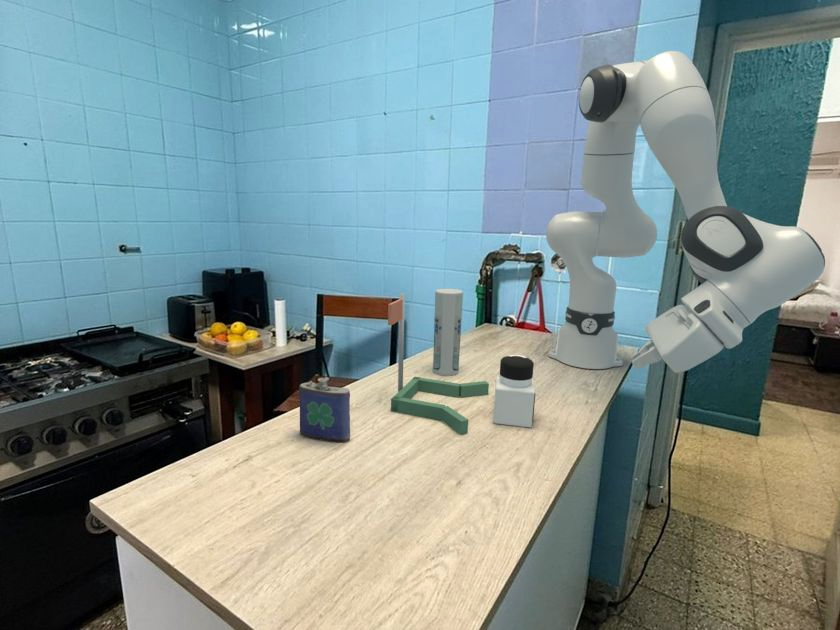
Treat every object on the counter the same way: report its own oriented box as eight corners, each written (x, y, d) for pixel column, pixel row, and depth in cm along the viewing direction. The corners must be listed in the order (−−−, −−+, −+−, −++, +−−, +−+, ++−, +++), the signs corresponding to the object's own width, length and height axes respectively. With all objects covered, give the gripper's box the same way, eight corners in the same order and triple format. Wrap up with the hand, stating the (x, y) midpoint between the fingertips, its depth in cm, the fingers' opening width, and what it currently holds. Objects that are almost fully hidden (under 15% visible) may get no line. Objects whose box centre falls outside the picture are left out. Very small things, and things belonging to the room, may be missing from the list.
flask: (352, 436, 76) (352, 378, 73) (345, 445, 73) (344, 384, 71) (304, 428, 78) (302, 371, 76) (295, 436, 76) (293, 377, 73)
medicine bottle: (532, 428, 81) (538, 366, 78) (492, 423, 82) (497, 362, 79) (530, 411, 87) (536, 353, 85) (494, 407, 89) (498, 350, 86)
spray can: (432, 366, 112) (435, 288, 107) (458, 367, 111) (462, 288, 107) (432, 375, 105) (435, 292, 101) (459, 376, 105) (463, 293, 100)
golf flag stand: (415, 380, 102) (417, 286, 97) (489, 392, 96) (495, 292, 91) (376, 418, 83) (377, 303, 78) (466, 435, 77) (472, 312, 72)
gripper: (682, 288, 80) (616, 335, 85) (713, 311, 61) (626, 368, 66) (706, 315, 79) (639, 360, 85) (745, 346, 60) (655, 401, 66)
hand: (633, 364), depth 75 cm, fingers closed
